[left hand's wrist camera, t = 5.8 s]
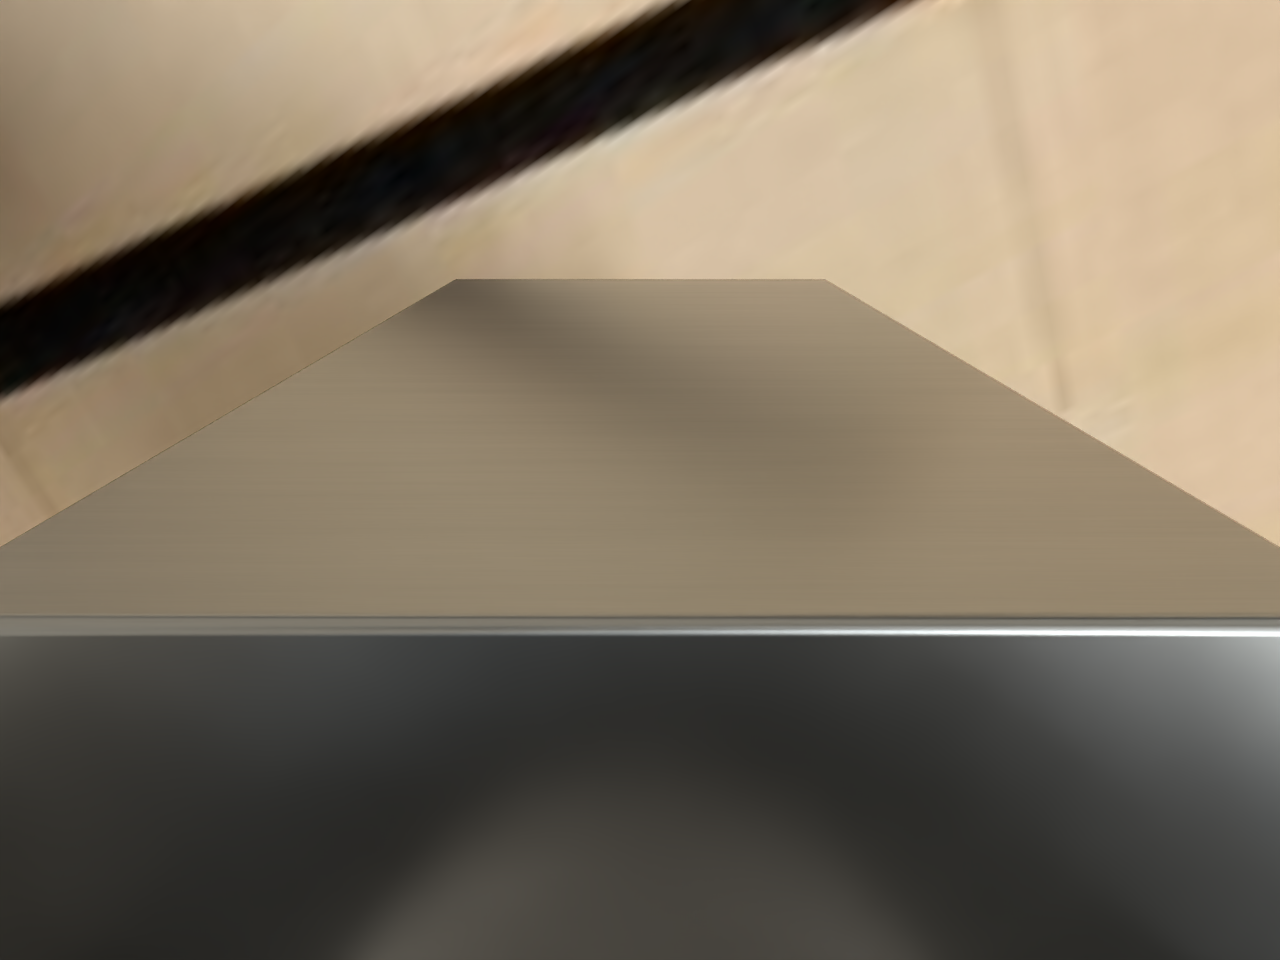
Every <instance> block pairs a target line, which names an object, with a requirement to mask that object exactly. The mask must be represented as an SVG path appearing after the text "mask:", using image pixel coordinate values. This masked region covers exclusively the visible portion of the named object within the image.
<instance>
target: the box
mask: <svg viewBox="0 0 1280 960" xmlns="http://www.w3.org/2000/svg"><path fill="white" fill-rule="evenodd" d="M0 960H1280V547H1279V546H1277V545H1275V544H1274V543H1272V542H1270V541H1269V540H1267V539H1265V538H1264V537H1262V536H1260V535H1258V534H1257V533H1255V532H1253V531H1252V530H1250V529H1248V528H1247V527H1245V526H1243V525H1241V524H1240V523H1238V522H1236V521H1235V520H1233V519H1231V518H1230V517H1228V516H1226V515H1225V514H1223V513H1221V512H1219V511H1218V510H1216V509H1214V508H1213V507H1211V506H1209V505H1208V504H1206V503H1204V502H1202V501H1201V500H1199V499H1197V498H1196V497H1194V496H1192V495H1191V494H1189V493H1187V492H1185V491H1184V490H1182V489H1180V488H1179V487H1177V486H1175V485H1174V484H1172V483H1170V482H1168V481H1167V480H1165V479H1163V478H1162V477H1160V476H1158V475H1157V474H1155V473H1153V472H1152V471H1150V470H1148V469H1146V468H1145V467H1143V466H1141V465H1140V464H1138V463H1136V462H1135V461H1133V460H1131V459H1129V458H1128V457H1126V456H1124V455H1123V454H1121V453H1119V452H1118V451H1116V450H1114V449H1112V448H1111V447H1109V446H1107V445H1106V444H1104V443H1102V442H1101V441H1099V440H1097V439H1095V438H1094V437H1092V436H1090V435H1089V434H1087V433H1085V432H1084V431H1082V430H1080V429H1079V428H1077V427H1075V426H1073V425H1072V424H1070V423H1068V422H1067V421H1065V420H1063V419H1062V418H1060V417H1058V416H1056V415H1055V414H1053V413H1051V412H1050V411H1048V410H1046V409H1045V408H1043V407H1041V406H1039V405H1038V404H1036V403H1034V402H1033V401H1031V400H1029V399H1028V398H1026V397H1024V396H1022V395H1021V394H1019V393H1017V392H1016V391H1014V390H1012V389H1011V388H1009V387H1007V386H1006V385H1004V384H1002V383H1000V382H999V381H997V380H995V379H994V378H992V377H990V376H989V375H987V374H985V373H983V372H982V371H980V370H978V369H977V368H975V367H973V366H972V365H970V364H968V363H966V362H965V361H963V360H961V359H960V358H958V357H956V356H955V355H953V354H951V353H949V352H948V351H946V350H944V349H943V348H941V347H939V346H938V345H936V344H934V343H933V342H931V341H929V340H927V339H926V338H924V337H922V336H921V335H919V334H917V333H916V332H914V331H912V330H910V329H909V328H907V327H905V326H904V325H902V324H900V323H899V322H897V321H895V320H893V319H892V318H890V317H888V316H887V315H885V314H883V313H882V312H880V311H878V310H876V309H875V308H873V307H871V306H870V305H868V304H866V303H865V302H863V301H861V300H860V299H858V298H856V297H854V296H853V295H851V294H849V293H848V292H846V291H844V290H843V289H841V288H839V287H837V286H836V285H834V284H832V283H831V282H829V281H827V280H825V279H456V280H454V281H452V282H450V283H448V284H447V285H445V286H443V287H442V288H440V289H438V290H437V291H435V292H433V293H431V294H430V295H428V296H426V297H425V298H423V299H421V300H420V301H418V302H416V303H414V304H413V305H411V306H409V307H408V308H406V309H404V310H403V311H401V312H399V313H398V314H396V315H394V316H392V317H391V318H389V319H387V320H386V321H384V322H382V323H381V324H379V325H377V326H375V327H374V328H372V329H370V330H369V331H367V332H365V333H364V334H362V335H360V336H358V337H357V338H355V339H353V340H352V341H350V342H348V343H347V344H345V345H343V346H341V347H340V348H338V349H336V350H335V351H333V352H331V353H330V354H328V355H326V356H324V357H323V358H321V359H319V360H318V361H316V362H314V363H313V364H311V365H309V366H307V367H306V368H304V369H302V370H301V371H299V372H297V373H296V374H294V375H292V376H290V377H289V378H287V379H285V380H284V381H282V382H280V383H279V384H277V385H275V386H273V387H272V388H270V389H268V390H267V391H265V392H263V393H262V394H260V395H258V396H256V397H255V398H253V399H251V400H250V401H248V402H246V403H245V404H243V405H241V406H239V407H238V408H236V409H234V410H233V411H231V412H229V413H228V414H226V415H224V416H222V417H221V418H219V419H217V420H216V421H214V422H212V423H211V424H209V425H207V426H205V427H204V428H202V429H200V430H199V431H197V432H195V433H194V434H192V435H190V436H188V437H187V438H185V439H183V440H182V441H180V442H178V443H177V444H175V445H173V446H171V447H170V448H168V449H166V450H165V451H163V452H161V453H160V454H158V455H156V456H154V457H153V458H151V459H149V460H148V461H146V462H144V463H143V464H141V465H139V466H137V467H136V468H134V469H132V470H131V471H129V472H127V473H126V474H124V475H122V476H120V477H119V478H117V479H115V480H114V481H112V482H110V483H109V484H107V485H105V486H103V487H102V488H100V489H98V490H97V491H95V492H93V493H92V494H90V495H88V496H86V497H85V498H83V499H81V500H80V501H78V502H76V503H75V504H73V505H71V506H69V507H68V508H66V509H64V510H63V511H61V512H59V513H58V514H56V515H54V516H52V517H51V518H49V519H47V520H46V521H44V522H42V523H41V524H39V525H37V526H35V527H34V528H32V529H30V530H29V531H27V532H25V533H24V534H22V535H20V536H18V537H17V538H15V539H13V540H12V541H10V542H8V543H7V544H5V545H3V546H1V547H0Z"/></svg>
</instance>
